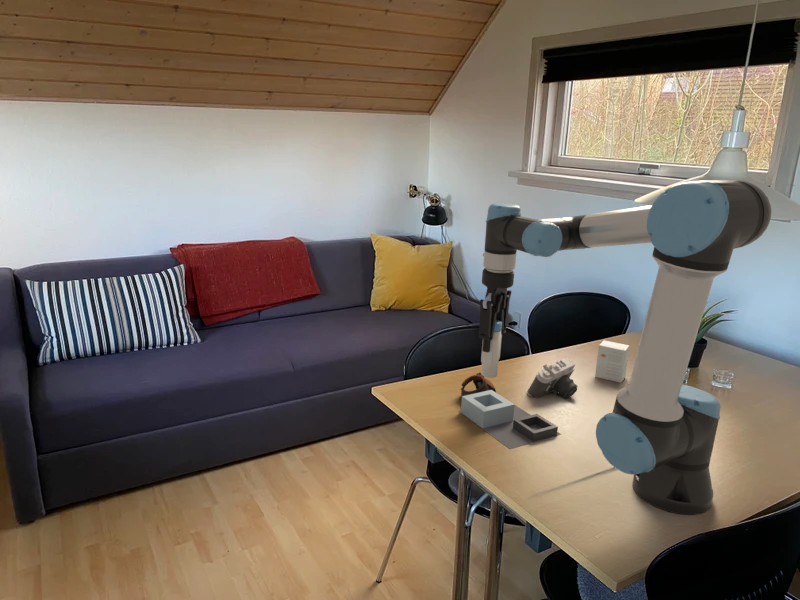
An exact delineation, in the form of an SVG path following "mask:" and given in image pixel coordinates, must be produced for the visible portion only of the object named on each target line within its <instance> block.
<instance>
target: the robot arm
mask: <svg viewBox="0 0 800 600" xmlns="http://www.w3.org/2000/svg"><path fill="white" fill-rule="evenodd" d="M651 204H652V205H644V206H638V207H637V206H636V207H630V208H623V209H617V210H611V211H610V210H609V211H603V212H602V211H601V212H595V213H590V214H583V215H582V214H581V215H580V214H579V215H574V216H564V217H549V218H548V217H547V218H531V217H525V216H522V214H521V207H520V206H519V205H518V204H515V203H514V204H513V203H505V202H504V203H503V202H499V203H497V202H496V203H492V204H490V205H489V206H488V210H487V213H486V214H487V215H486V220H485V223H486V224H485V237H484V251H483V253H482V256H483V264H482V266H483V269H482V273H481V274H482V275H481V284H482V285H483V286H485V287H486V292H485V296H484V299H482V298H481V299H479V309H480V313H479V323H478V325H479V326H478V327H479V328H478V338H479V339H482V342H481V344H482V346H481V356H480V362H481V364H482V363H486V364H489V365H491V364H492V360H493V349H494V339H493V334H494V328H495V322H496V320H500V321H501V322H502V329H501V339H500V350H499V360H500V358H501V349H502V340H503V339H502V338H503V335H505V334H507V327H508V318H509V317H508V316H509V310H510V309H509V308H510V300H511V296H512V290H509V288H512V287H513V286H514V281H515V280H514V279H515V272H514V270H516V263H517V251H519V252H523V253H527V254H529V255H532V256H534V257H543V258H549V257H550V258H551V257H552V256H553V255H554V254H556V253H557V252H559V251H569V250H584V249H590V248H591V249H593V248H602V247H603V248H605V247H615V246H616V247H619V246H627V245H629V246H630V245H640V244H652V245H653V251H652V255H651V256H652V258H653V260H654V261H655V263H656V265H658V270H657V273H656V277H655V280H654V281H655V282H654V285H653V289H652V293H651V298H650V301H649V305H648V308H647V312H646V315H645V316H646V317H645V320H644V323H643V328H642V332H641V336H640V340H639V343H638V347H637V351H636V355H635V358H634V359H635V360H634V363H633V367H632V371H631V374H630V378H629V382H628V386H626V387H623V388H620V389H619V390H618V392H617V394H616V398H615V402H614V405H613V409H612V412H609V413H606V414H604V415H602V417H601V418H600V419H599V420H598V422H597V424H596V428H595V438H596V442H597V445H598V448H599V449H600V451H601V453H602V455H603V457H604V458H605V459H606V461H607V462H608V463H609V464H610V465H611V466H612V467H613V468H615V469H616V470H618V471H620V472H622V473H624V474H627V475H633V477H632V478H633V479H632V487H633V489H634V491H635V492H636V494H637V495H638V496H639V497H641V498H642V499H643V500H644V502H647V503H649V504H650V505H652V506H654V507H656V508H659V509H661V510H664V511H665V512H666V511H668V512H671V513H675V514H678V515H679V514H681V515H698V514H703V513H705V512H707V511H708V510H709V509H710V508H711V507H712V504H713V499H714V490H713V485H712V479H711V478H712V477H711V472H710V464H711V459H712V454H713V450H714V444H715V440H716V435H717V429H718V425H719V421H720V419H721V416H720V413H721V407H722V406H721V402H720V401H719V399H718V398H717V397H715V396H714V395H713V394H711V393H709V392H707V391H705V390H703V389H699V388H697V387H694V386H690V385H686V384H683V382H684V380H685V377H686V374H687V370H688V366H689V363H690V360H691V356H692V353H693V349H694V347H695V346H694V345H695V343H696V338H697V336H698V332H699V329H700V326H701V323H702V319H703V315H704V312H705V310H706V309H705V308H706V306H707V303H708V298H709V296H710V292H711V288H712V285H713V281H714V279H715V278H716V277H717V276H720V275H721V274H724V273H726V272H727V271H728V268H729V264H730V261H731V259H732V255H733V251H734V249H739V248H743V247H746V246H748V245H750V244H752V243H754V242H756V241H758V239H760V238H761V236H763V234H764V233H765V231H767V228H768V227H769V225H770V222H771V218H772V204H771V202H770V199H769V197H768V196H767V194H766V193H765V192H764V190H762V189H761V188H760V187H759V186H757V185H755V184H754V183H751V182H749V181H745V180H740V179H728V180H723V179H722V180H719V179H718V180H715V179H714V180H711V179H710V180H709V179H708V180H700V179H695V180H689V181H686V182H680V183H677V184H674V185H672V186H670V187H668V188H666V189H665V190H664V191H661V193H660V194H659V195H658V196H657V198H655V200H654V201H653V202H652V203H651Z"/></svg>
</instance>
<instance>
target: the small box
mask: <svg viewBox="0 0 800 600" xmlns="http://www.w3.org/2000/svg"><path fill="white" fill-rule="evenodd" d="M629 352H630V344H629V345H628V344H623V343H619V342H615V341H614V342H613V341H609V340H605V339H603V340H602V342H601V343H599V345H598V350H597V358H596V365H595V367H596V368H595V375H594V376H595V378H598V379H603V380H607V381H612V382H615V383H620V384H622V382H623V381H624V380H625V378H626V374H627V367H628V361H629V360H628V359H629Z"/></svg>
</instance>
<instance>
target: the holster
mask: <svg viewBox="0 0 800 600" xmlns="http://www.w3.org/2000/svg"><path fill="white" fill-rule="evenodd" d="M535 424H536V425H538V426H539V427H541V428H542V429H539V430H535V431H534V430H533V429H531V428H530V427H528V426H531V425H535ZM513 428H514V429H515V430H517V431H518V432H520V433H521V434H523V435H524V436H526V437H527V438H528V439H530V440H531V441H533V442H534V441H537V442H539V441H538V440H541V439H544V440H546V439H545V438H548V437H551V438H553V437H552V436H555V435H557V432H559V430H558V429H559V426H557V425H556V424H554V423H553V422H551V421H550V420H547V418H545V417H544V416H541V415H540V414H538V413H535V414H530V416H526V417H523V418H519V419H515V420H514V422H513ZM555 437H556V436H555ZM548 439H549V438H548ZM541 441H542V440H541ZM534 443H535V442H534Z"/></svg>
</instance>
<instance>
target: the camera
mask: <svg viewBox="0 0 800 600" xmlns="http://www.w3.org/2000/svg"><path fill="white" fill-rule="evenodd" d="M540 368H541V370H540V371H538V372H537V374H536V375H535V377H534V379H533V381H532V383H531V384H530V386H529V388H528V389H527V390H526V393H527V395H528V396H530V397H532V398H539V397H542V396H544V395H547V394H549V393H550V392H551V393H553V392H557V394H558V395H559V396H562V397H563V398H564V399H570V398H572V397H573V396H574V395H575V393H576V392H577V391H578V385H577V384H576V383H575V382H574V379H571V376H572V375H573V373H574V372H575V370H576V363H574V362H573V359H568V358H567V357H564V358H562V359H559V360H558V361H555V362H553V363H550V364H548V365H547V364H544V365H543V366H541V367H540Z"/></svg>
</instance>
